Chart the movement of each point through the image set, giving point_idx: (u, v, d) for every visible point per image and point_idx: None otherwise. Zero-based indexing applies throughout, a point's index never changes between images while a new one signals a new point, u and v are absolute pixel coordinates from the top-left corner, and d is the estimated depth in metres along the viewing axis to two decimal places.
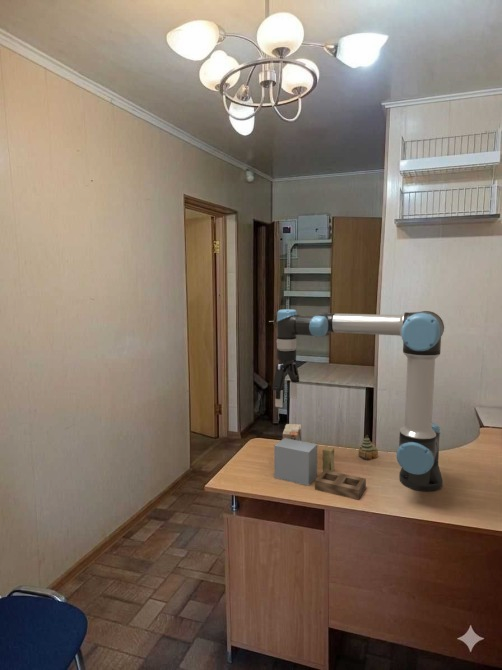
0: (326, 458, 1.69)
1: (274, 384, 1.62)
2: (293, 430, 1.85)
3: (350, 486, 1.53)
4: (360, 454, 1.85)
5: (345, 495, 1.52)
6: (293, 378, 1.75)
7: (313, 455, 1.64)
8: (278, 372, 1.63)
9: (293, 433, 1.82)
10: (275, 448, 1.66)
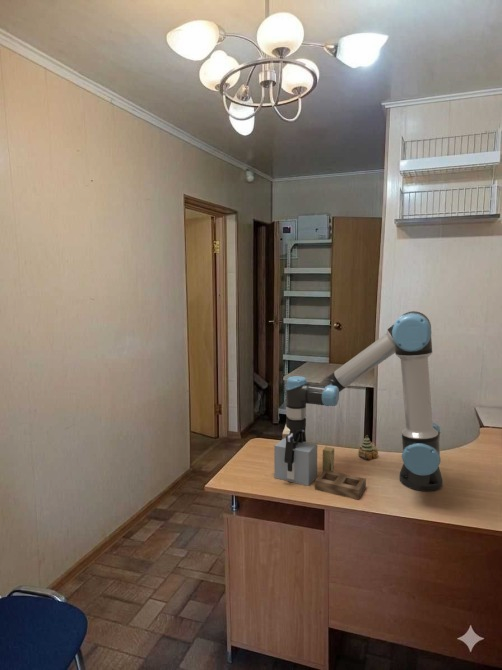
0: (326, 458, 1.69)
1: (286, 457, 1.60)
2: None
3: (350, 486, 1.53)
4: (360, 454, 1.85)
5: (345, 495, 1.52)
6: None
7: (313, 455, 1.64)
8: (288, 445, 1.60)
9: None
10: (275, 448, 1.66)
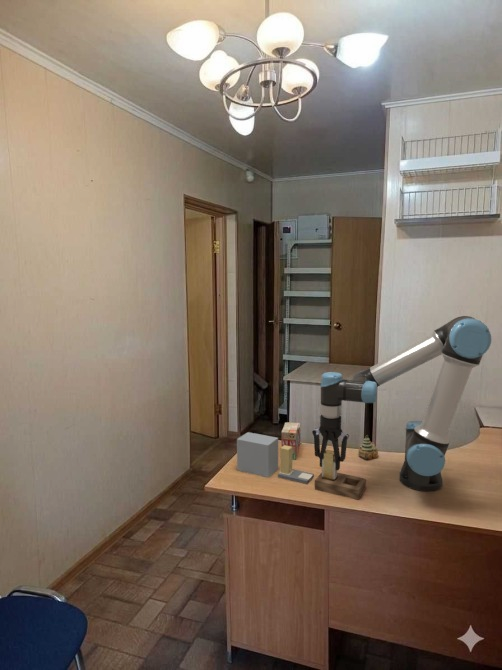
0: (328, 462, 1.58)
1: None
2: (292, 428, 1.87)
3: (350, 486, 1.53)
4: (360, 454, 1.85)
5: (345, 495, 1.52)
6: None
7: (274, 448, 1.71)
8: None
9: (292, 431, 1.84)
10: (237, 441, 1.73)
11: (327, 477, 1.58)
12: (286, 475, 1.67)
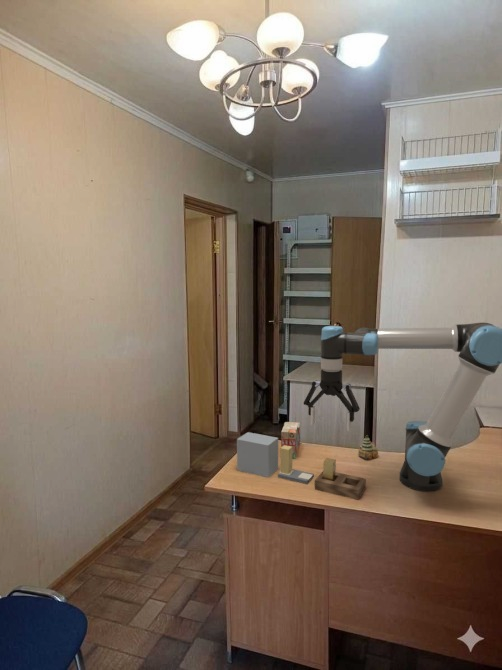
0: (327, 470, 1.58)
1: None
2: (292, 428, 1.87)
3: (350, 486, 1.53)
4: (360, 454, 1.85)
5: (345, 495, 1.52)
6: None
7: (274, 448, 1.71)
8: None
9: (292, 431, 1.84)
10: (237, 441, 1.73)
11: None
12: (286, 475, 1.67)
